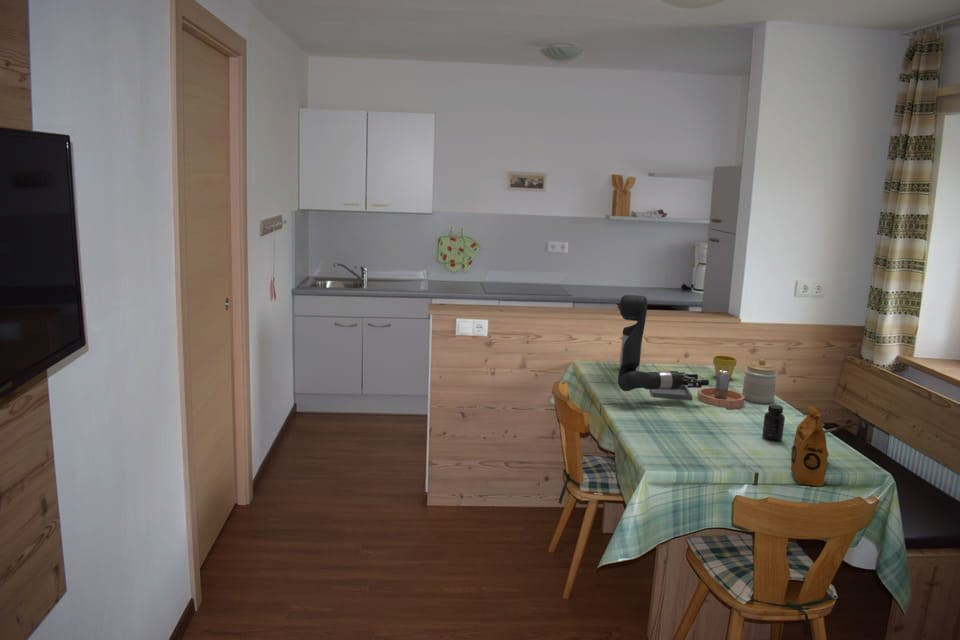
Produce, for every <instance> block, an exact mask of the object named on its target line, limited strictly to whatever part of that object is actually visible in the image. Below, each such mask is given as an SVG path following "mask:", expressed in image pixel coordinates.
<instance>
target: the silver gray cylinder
mask: <svg viewBox="0 0 960 640" xmlns="http://www.w3.org/2000/svg"><path fill="white" fill-rule="evenodd" d="M729 377H730V374H729V373H728V371H722V370H719V371H718V373H717V378H716V377H715V378H716V379H715V387H714V388H715V395H714V398H717V399H725V400H727V393H728V390H729V384H730V380H729Z"/></svg>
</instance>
